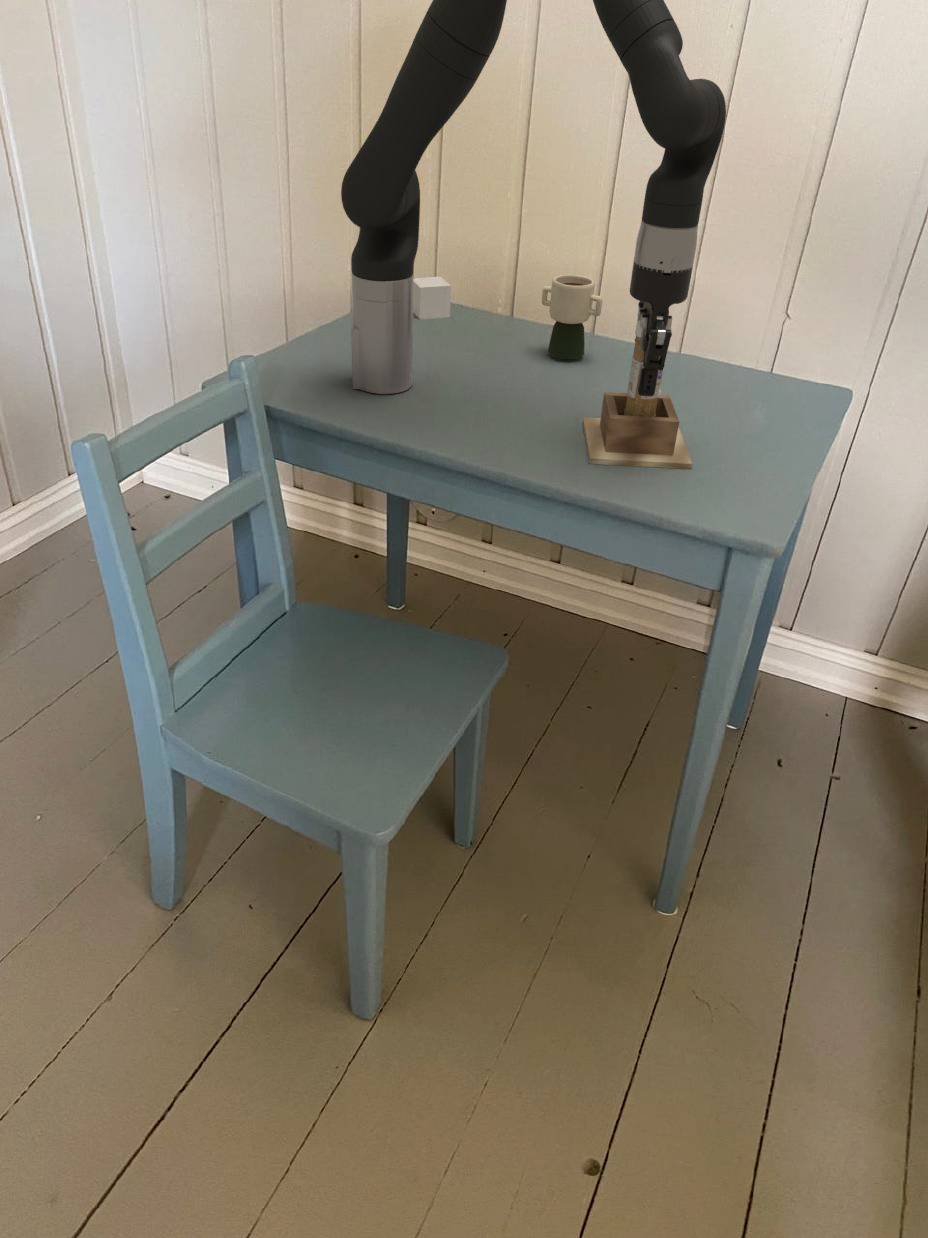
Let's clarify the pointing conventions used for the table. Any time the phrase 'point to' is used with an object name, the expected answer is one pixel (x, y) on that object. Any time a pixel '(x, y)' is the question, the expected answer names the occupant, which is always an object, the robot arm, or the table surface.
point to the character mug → (570, 313)
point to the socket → (635, 436)
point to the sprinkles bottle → (635, 402)
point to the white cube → (431, 298)
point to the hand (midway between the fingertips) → (643, 387)
